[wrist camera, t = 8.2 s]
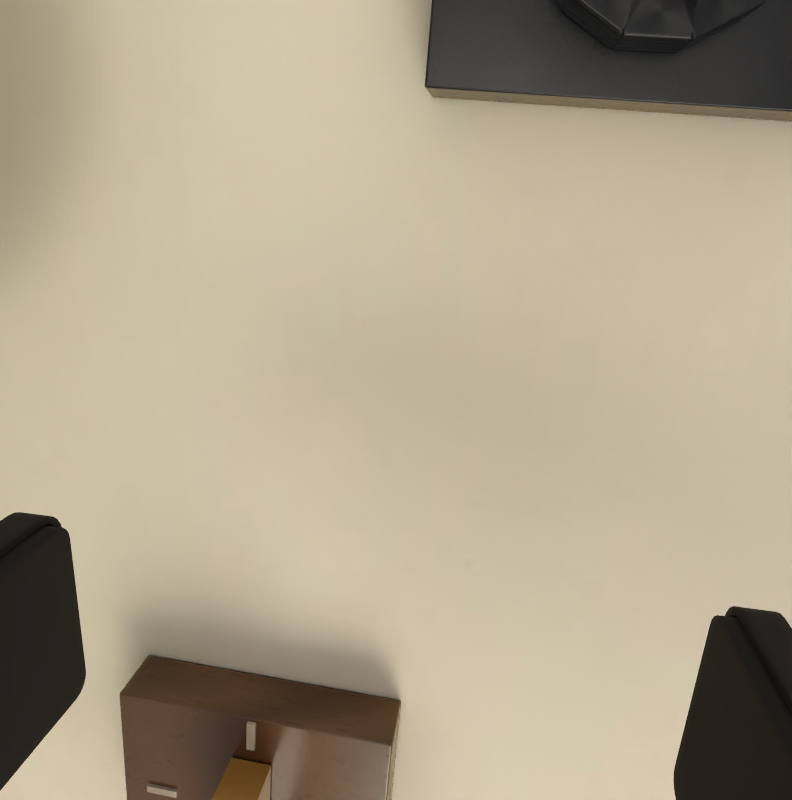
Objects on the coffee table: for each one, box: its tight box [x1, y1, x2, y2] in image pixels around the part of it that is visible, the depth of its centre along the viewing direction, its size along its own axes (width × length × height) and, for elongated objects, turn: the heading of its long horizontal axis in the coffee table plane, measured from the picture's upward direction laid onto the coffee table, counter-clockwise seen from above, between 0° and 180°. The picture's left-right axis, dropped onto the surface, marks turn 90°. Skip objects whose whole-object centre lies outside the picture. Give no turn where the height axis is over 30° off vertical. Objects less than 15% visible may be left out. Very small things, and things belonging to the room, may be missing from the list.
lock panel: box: [120, 656, 401, 800], centre depth 30 cm, size 12×10×3 cm
